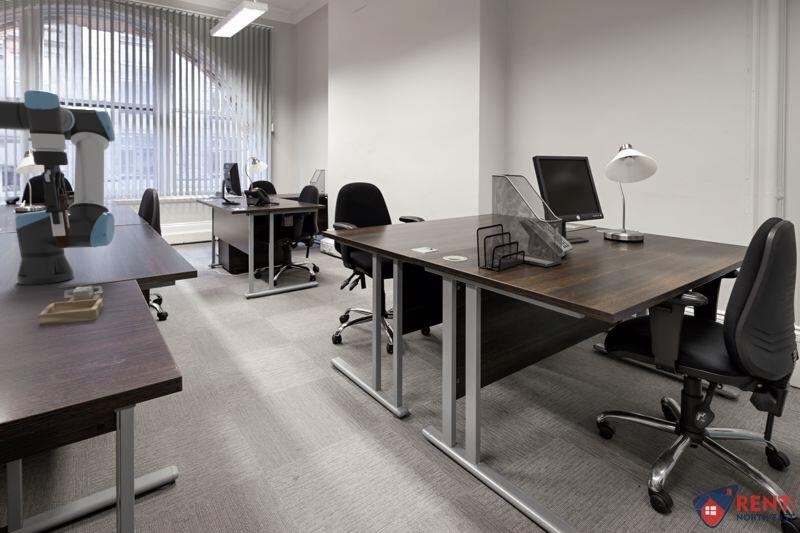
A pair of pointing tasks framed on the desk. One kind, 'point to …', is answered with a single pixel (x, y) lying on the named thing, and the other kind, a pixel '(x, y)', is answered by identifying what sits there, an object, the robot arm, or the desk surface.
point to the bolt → (64, 240)
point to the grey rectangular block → (83, 293)
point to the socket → (72, 311)
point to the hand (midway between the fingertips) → (61, 234)
